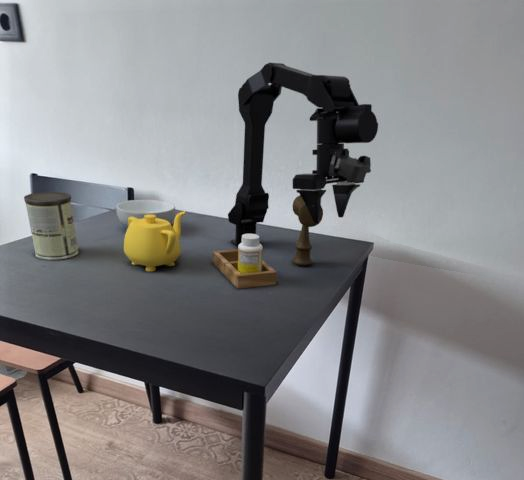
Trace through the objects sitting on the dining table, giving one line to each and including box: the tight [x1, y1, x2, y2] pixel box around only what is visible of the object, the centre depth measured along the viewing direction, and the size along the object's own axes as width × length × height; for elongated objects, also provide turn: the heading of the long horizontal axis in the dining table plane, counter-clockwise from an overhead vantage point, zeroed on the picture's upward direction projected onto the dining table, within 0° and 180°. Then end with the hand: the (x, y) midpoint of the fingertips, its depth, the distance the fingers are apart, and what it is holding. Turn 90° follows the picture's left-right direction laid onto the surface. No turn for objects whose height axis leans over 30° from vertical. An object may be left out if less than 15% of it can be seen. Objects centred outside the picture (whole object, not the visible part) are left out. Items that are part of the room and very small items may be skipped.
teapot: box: [123, 210, 186, 272], centre depth 116 cm, size 14×14×12 cm
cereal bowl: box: [115, 199, 176, 228], centre depth 142 cm, size 17×17×7 cm
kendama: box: [292, 194, 324, 267], centre depth 119 cm, size 6×10×20 cm, turn 7°
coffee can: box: [23, 191, 80, 261], centre depth 118 cm, size 10×10×14 cm
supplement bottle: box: [237, 233, 264, 274], centre depth 110 cm, size 6×6×10 cm
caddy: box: [212, 248, 278, 290], centre depth 115 cm, size 18×9×3 cm, turn 23°
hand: (328, 220), depth 108 cm, fingers open, 9 cm apart
